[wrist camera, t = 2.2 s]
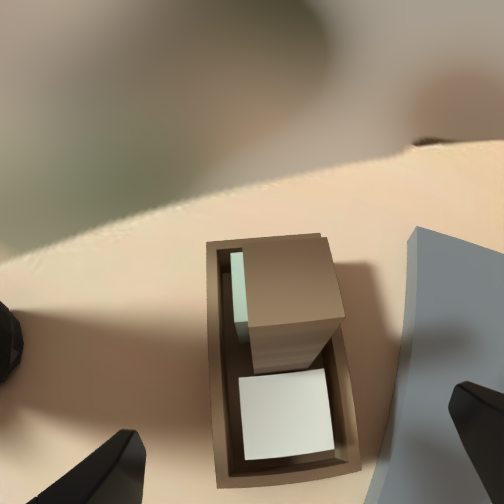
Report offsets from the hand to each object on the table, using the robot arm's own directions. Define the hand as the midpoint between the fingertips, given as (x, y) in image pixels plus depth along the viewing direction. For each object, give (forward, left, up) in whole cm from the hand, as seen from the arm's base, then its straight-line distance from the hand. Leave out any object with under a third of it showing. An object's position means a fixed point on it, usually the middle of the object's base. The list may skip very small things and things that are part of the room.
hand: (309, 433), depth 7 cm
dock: (-12, -6, -11) cm, 17 cm away
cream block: (0, -1, -10) cm, 10 cm away
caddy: (+2, -4, -11) cm, 12 cm away
